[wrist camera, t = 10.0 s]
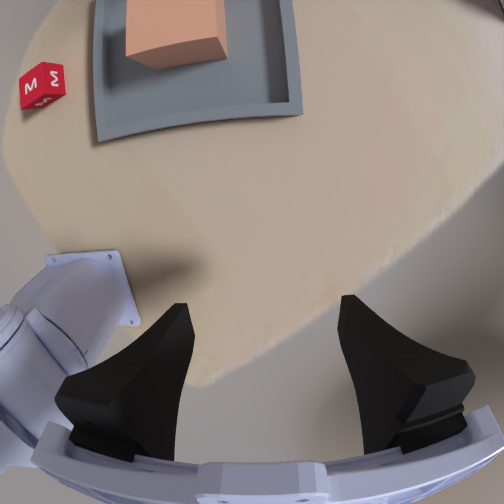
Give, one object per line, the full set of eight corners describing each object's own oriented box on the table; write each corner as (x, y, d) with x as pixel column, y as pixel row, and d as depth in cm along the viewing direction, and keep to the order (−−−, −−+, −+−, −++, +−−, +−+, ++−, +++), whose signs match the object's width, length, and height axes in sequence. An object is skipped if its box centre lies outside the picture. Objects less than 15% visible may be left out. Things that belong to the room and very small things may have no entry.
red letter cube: (63, 64, 15) (42, 61, 12) (66, 94, 16) (44, 93, 13) (40, 79, 15) (18, 78, 12) (42, 108, 16) (21, 109, 14)
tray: (110, 139, 18) (98, 141, 16) (107, -8, 12) (97, -15, 10) (298, 115, 17) (303, 114, 16) (281, -41, 11) (283, -52, 10)
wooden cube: (156, 70, 15) (125, 56, 11) (155, 13, 13) (128, -12, 9) (227, 58, 15) (217, 36, 11) (224, 1, 13) (213, -32, 8)
